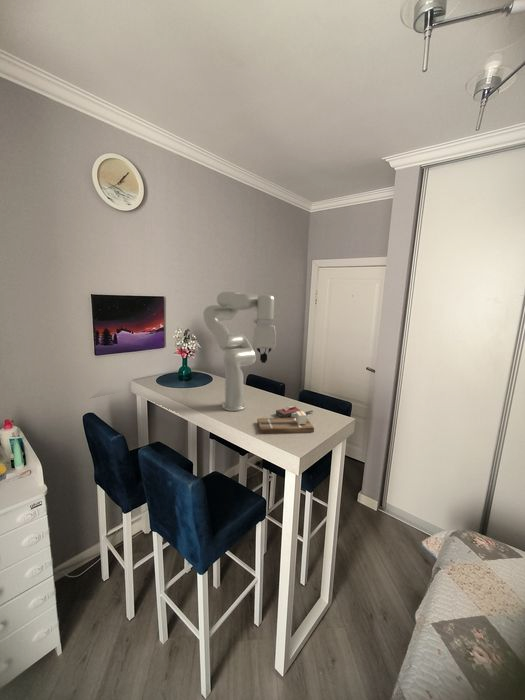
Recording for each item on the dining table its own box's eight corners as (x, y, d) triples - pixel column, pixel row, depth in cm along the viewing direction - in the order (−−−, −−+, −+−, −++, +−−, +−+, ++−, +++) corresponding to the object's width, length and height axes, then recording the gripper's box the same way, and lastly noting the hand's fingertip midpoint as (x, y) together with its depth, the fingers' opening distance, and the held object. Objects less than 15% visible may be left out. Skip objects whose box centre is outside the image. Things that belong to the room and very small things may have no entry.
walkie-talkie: (283, 421, 149) (314, 414, 160) (284, 413, 148) (314, 406, 159) (273, 415, 156) (302, 408, 167) (273, 407, 155) (303, 401, 167)
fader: (295, 419, 145) (296, 411, 144) (303, 419, 145) (303, 411, 145) (298, 424, 140) (299, 415, 139) (306, 424, 140) (306, 415, 140)
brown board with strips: (257, 422, 146) (257, 418, 146) (306, 421, 150) (306, 417, 149) (260, 433, 134) (260, 429, 134) (313, 432, 138) (314, 427, 137)
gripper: (249, 322, 134) (248, 364, 138) (282, 323, 137) (280, 364, 140) (247, 321, 142) (246, 360, 145) (279, 322, 144) (277, 360, 147)
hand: (263, 362), depth 142 cm, fingers closed
